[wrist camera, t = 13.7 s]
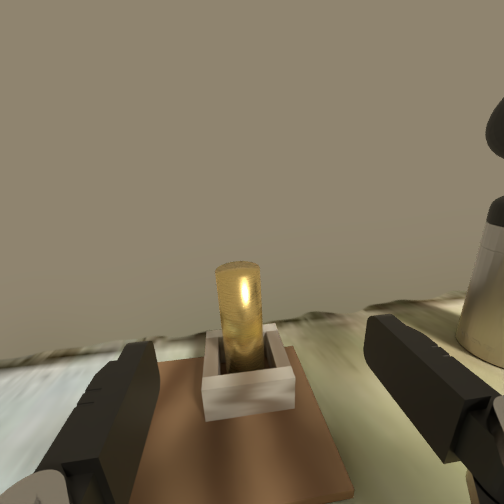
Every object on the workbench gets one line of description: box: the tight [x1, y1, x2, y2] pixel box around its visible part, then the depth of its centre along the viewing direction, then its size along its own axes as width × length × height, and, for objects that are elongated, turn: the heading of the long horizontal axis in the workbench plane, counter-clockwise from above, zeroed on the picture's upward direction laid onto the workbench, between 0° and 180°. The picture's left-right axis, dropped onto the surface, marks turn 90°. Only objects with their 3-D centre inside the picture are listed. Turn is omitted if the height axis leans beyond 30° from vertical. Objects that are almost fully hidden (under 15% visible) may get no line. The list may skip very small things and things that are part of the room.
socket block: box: [129, 323, 354, 504], centre depth 24 cm, size 19×16×5 cm
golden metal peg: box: [215, 261, 265, 374], centre depth 26 cm, size 4×4×14 cm
